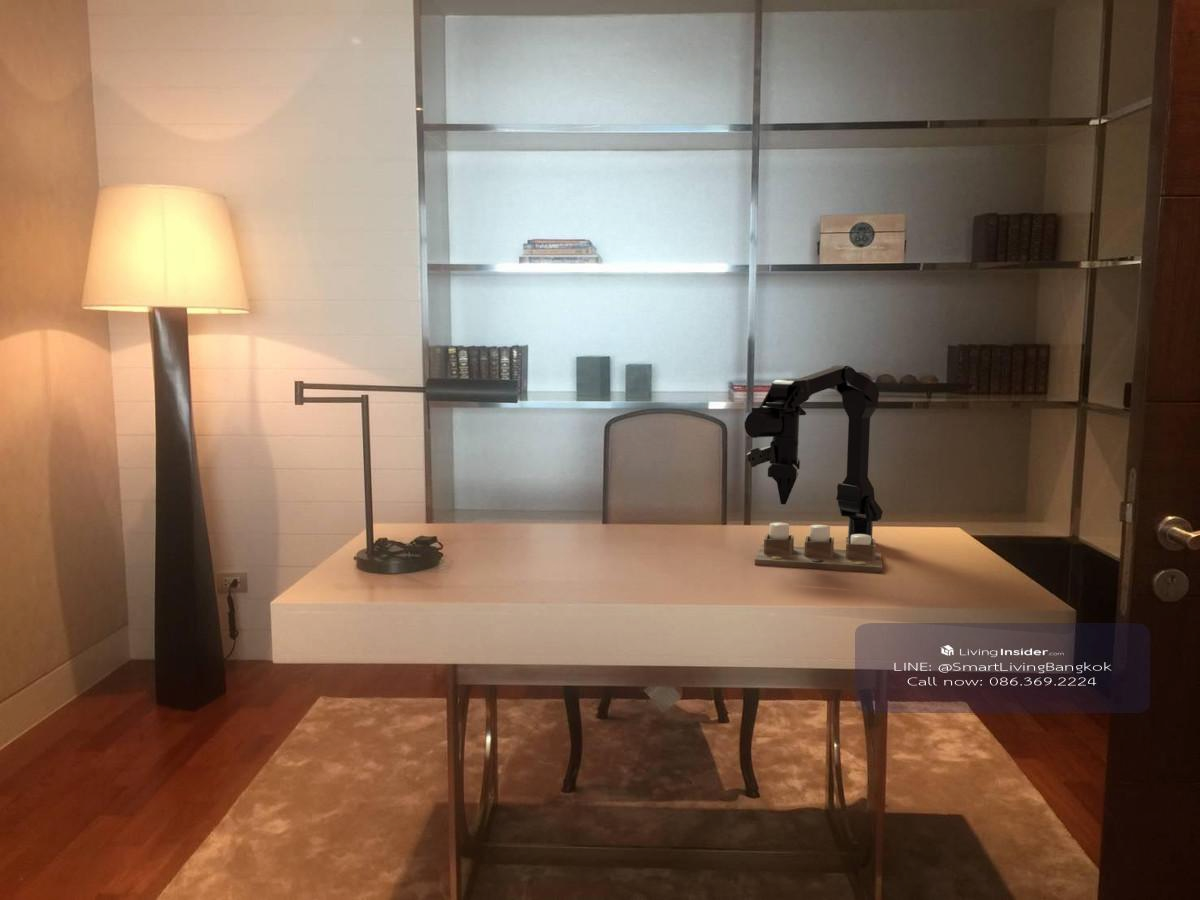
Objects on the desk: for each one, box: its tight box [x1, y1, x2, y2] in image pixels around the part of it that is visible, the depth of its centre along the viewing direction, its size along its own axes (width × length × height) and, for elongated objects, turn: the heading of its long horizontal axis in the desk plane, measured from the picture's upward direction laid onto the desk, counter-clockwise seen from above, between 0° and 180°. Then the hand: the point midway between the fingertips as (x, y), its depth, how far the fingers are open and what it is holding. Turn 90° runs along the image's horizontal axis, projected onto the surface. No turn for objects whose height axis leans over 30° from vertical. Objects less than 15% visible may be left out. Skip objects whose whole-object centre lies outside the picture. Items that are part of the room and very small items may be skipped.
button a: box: [851, 534, 871, 545], centre depth 210 cm, size 4×4×4 cm
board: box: [754, 533, 883, 574], centre depth 212 cm, size 15×27×4 cm, turn 75°
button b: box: [809, 524, 831, 543], centre depth 213 cm, size 4×4×4 cm
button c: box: [768, 522, 790, 540], centre depth 215 cm, size 4×4×4 cm
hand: (783, 504), depth 214 cm, fingers closed
